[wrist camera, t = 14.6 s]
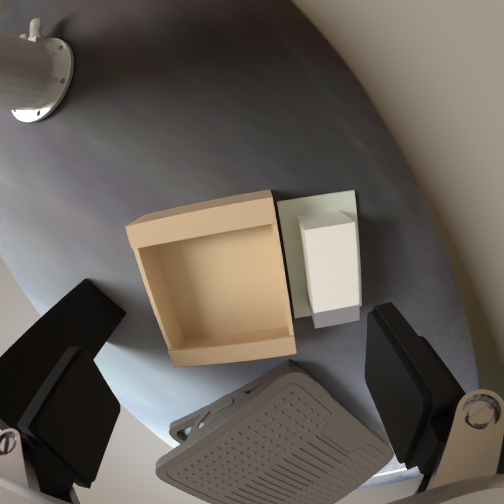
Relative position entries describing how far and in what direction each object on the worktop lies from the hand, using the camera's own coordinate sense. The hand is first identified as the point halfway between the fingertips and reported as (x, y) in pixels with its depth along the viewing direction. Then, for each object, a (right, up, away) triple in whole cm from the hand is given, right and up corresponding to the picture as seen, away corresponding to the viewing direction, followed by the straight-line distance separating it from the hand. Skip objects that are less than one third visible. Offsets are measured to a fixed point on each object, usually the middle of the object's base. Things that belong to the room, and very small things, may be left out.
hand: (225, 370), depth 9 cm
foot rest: (+8, -33, +40) cm, 52 cm away
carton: (-3, +1, +28) cm, 28 cm away
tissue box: (-22, -5, +30) cm, 38 cm away
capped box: (+9, +3, +26) cm, 28 cm away
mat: (+9, +3, +27) cm, 28 cm away
